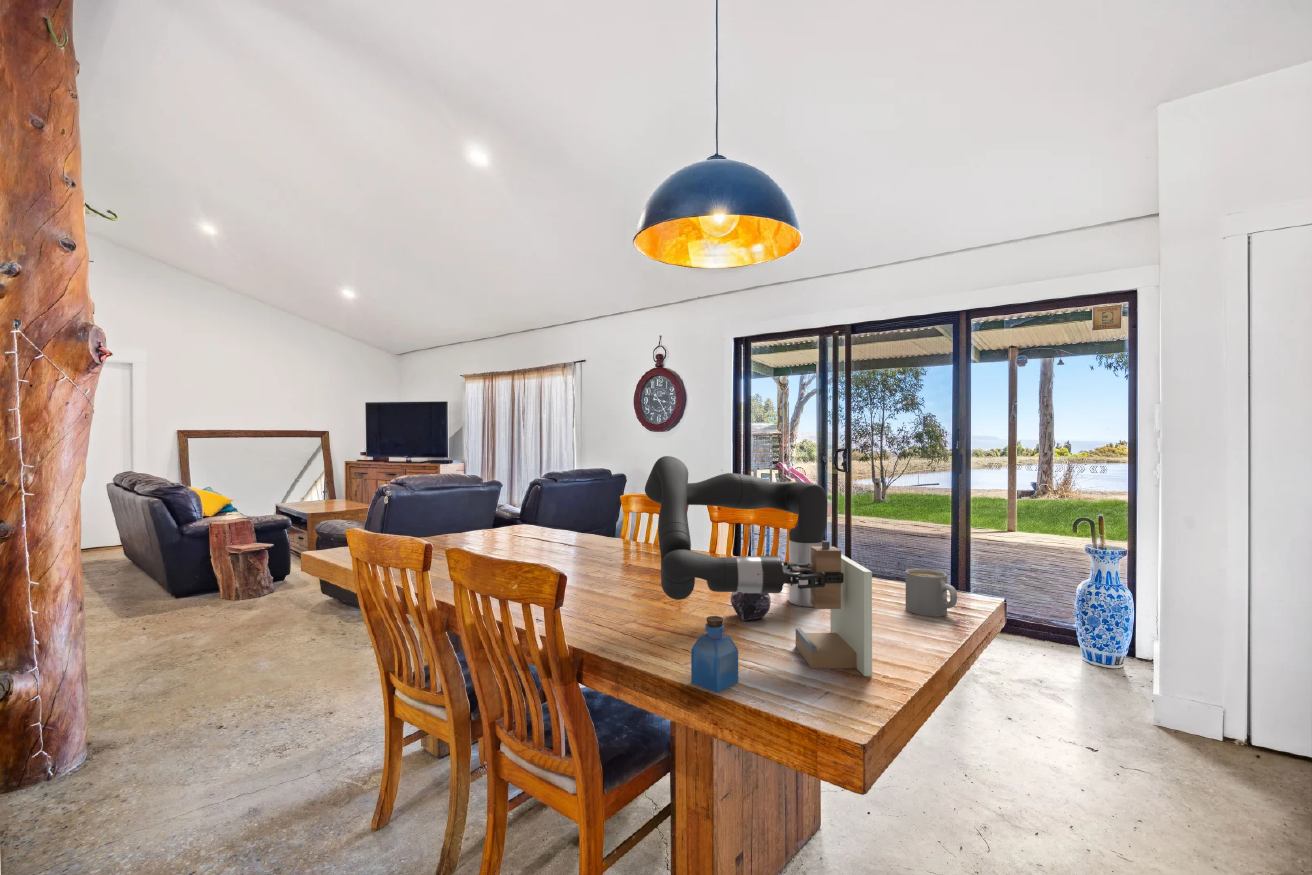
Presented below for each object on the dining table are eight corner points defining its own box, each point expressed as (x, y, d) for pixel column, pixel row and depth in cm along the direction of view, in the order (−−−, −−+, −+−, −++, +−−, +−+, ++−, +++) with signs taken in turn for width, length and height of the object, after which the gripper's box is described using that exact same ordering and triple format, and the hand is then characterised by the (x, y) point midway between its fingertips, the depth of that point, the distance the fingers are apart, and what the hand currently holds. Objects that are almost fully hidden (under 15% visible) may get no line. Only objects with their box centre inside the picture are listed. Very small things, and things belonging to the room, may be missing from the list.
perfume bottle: (712, 673, 113) (712, 611, 114) (738, 682, 109) (738, 618, 109) (691, 682, 109) (691, 618, 109) (717, 692, 105) (716, 626, 105)
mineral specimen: (731, 602, 156) (746, 569, 154) (766, 623, 151) (782, 589, 150) (718, 610, 147) (733, 575, 146) (755, 633, 143) (771, 597, 141)
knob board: (810, 602, 124) (810, 539, 124) (833, 603, 124) (834, 539, 124) (816, 609, 119) (817, 543, 119) (840, 609, 120) (841, 543, 120)
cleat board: (790, 640, 132) (790, 551, 132) (837, 639, 132) (836, 551, 132) (817, 676, 112) (817, 572, 112) (872, 676, 112) (871, 571, 112)
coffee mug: (897, 607, 158) (897, 570, 158) (927, 603, 161) (927, 567, 161) (934, 622, 145) (934, 581, 145) (966, 618, 148) (966, 578, 148)
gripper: (764, 563, 114) (851, 564, 115) (751, 549, 129) (828, 550, 129) (764, 602, 114) (851, 602, 115) (750, 584, 129) (827, 584, 129)
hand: (838, 574), depth 122 cm, fingers closed on knob board, 4 cm apart
